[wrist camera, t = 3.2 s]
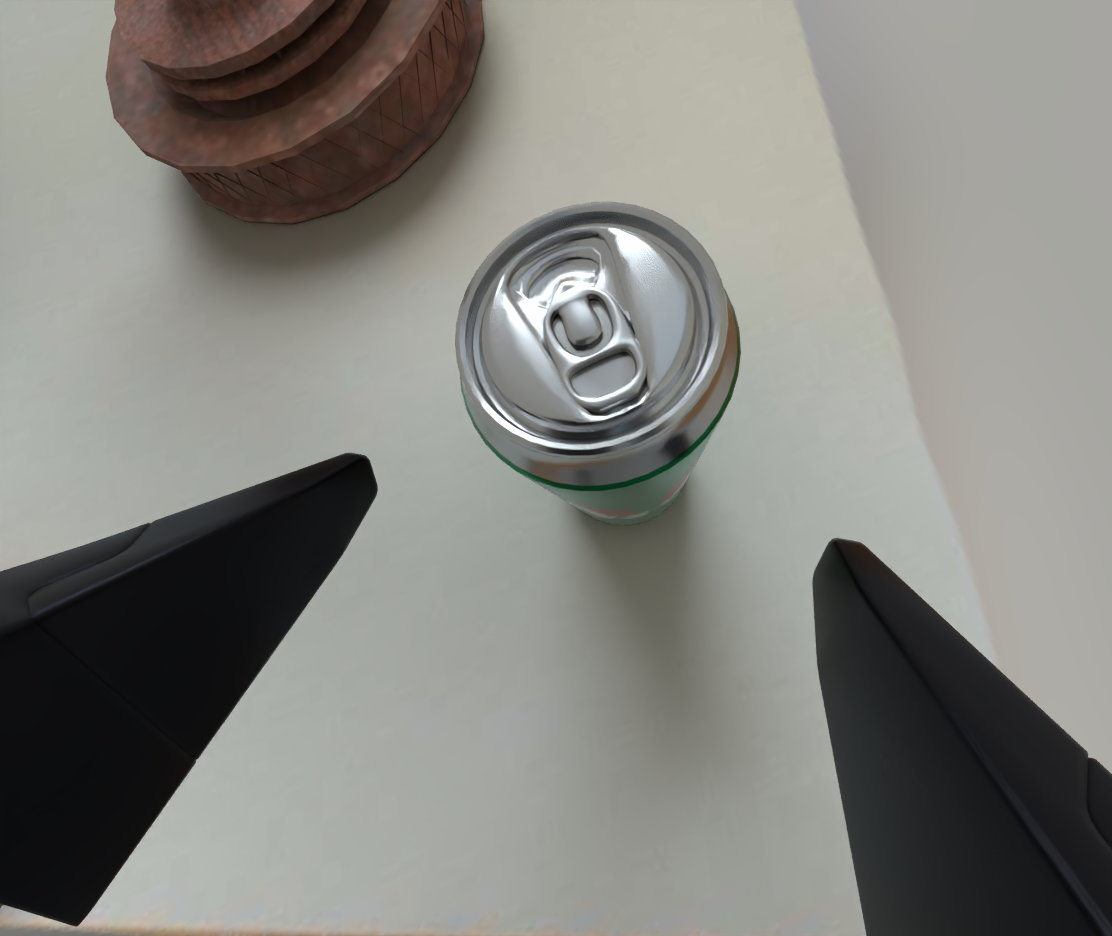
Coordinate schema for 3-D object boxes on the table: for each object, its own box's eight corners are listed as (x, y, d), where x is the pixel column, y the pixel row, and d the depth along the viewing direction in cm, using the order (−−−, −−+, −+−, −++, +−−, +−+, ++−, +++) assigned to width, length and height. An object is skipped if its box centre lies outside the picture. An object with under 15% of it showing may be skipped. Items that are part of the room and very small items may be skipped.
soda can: (654, 388, 19) (666, 127, 7) (707, 497, 17) (825, 393, 6) (547, 436, 19) (397, 265, 8) (590, 544, 18) (489, 534, 6)
